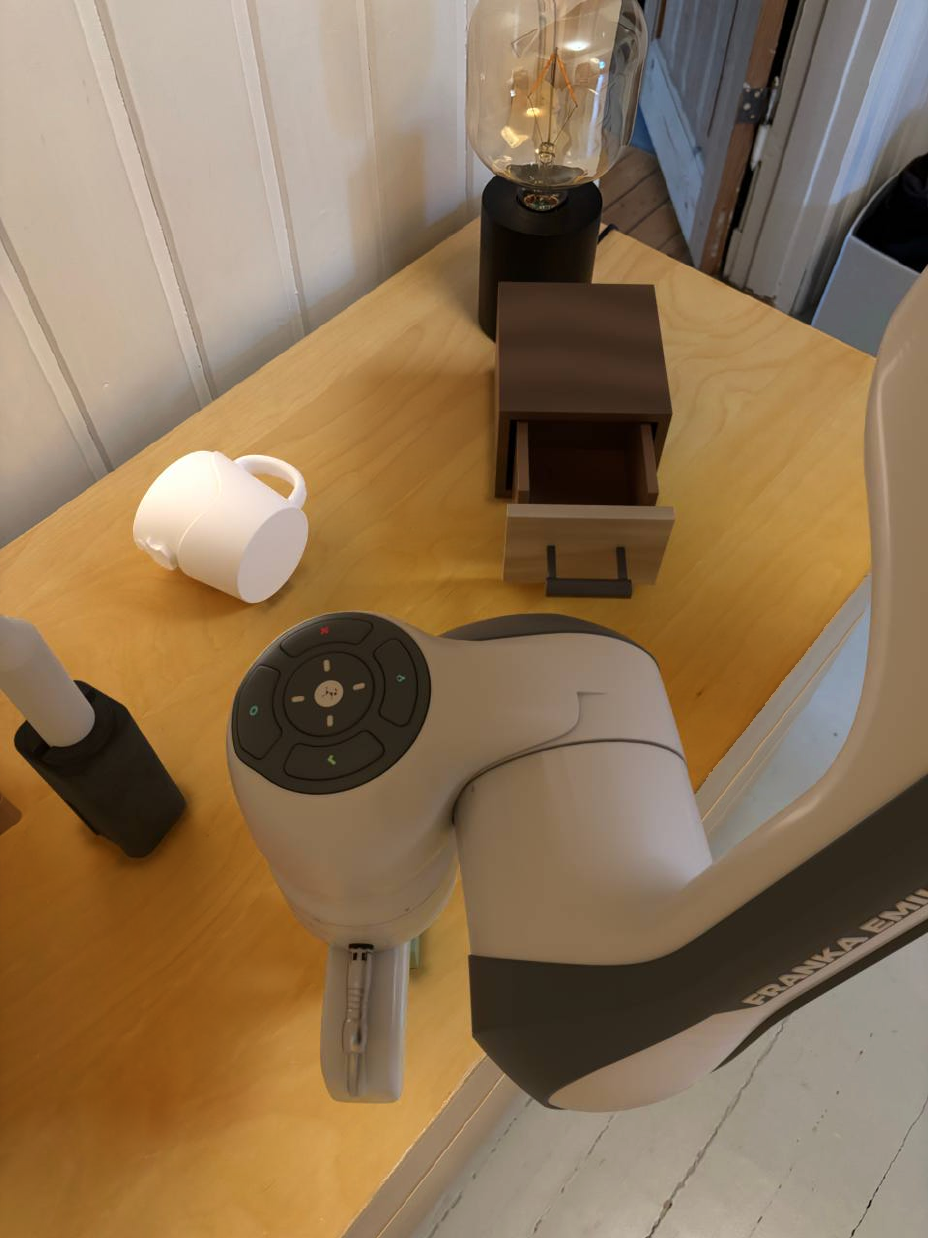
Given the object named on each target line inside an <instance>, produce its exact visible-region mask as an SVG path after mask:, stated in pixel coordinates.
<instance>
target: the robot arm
mask: <svg viewBox="0 0 928 1238" xmlns="http://www.w3.org/2000/svg"><path fill="white" fill-rule="evenodd" d="M865 404H866V405H865V406H866V407H865V415H864V427H863V443H862V444H863V445H862V446H863V450H862V451H863V453H862V455H863V474H864V482H865V492H866V493H865V495H866V503H867V515H868V516H867V517H868V526H869V527H868V528H869V542H870V543H869V544H870V547H869V548H870V575H871V577H870V578H871V581H870V611H869V613H870V614H869V618H870V619H869V627H868V628H869V629H868V642H867V643H868V645H867V653H866V662H865V670H864V677H863V682H862V687H861V694H860V698H859V701H858V704H857V708H856V712H855V716H854V719H853V721H852V724H851V727H850V729H849V731H848V734H847V736H846V739H845V741H844V743H843V744H842V746H841V748H840V751H838V754H837V756H836V757H835V759H834V761H833V762H832V763H831V764H830V765H829V767H828V768H827V770H826V771H825V772H824V773H823V775H822V776H821V777H820V778H819V779H818V780H817V781H816V782H815V783H814V784H813V785H812V786H811V787H809V788H808V789H807V790H806V791H805V792H803V793H802V794H800V795H799V796H798V797H797V798H795V799H794V800H793V801H792V802H790V803H789V804H787V806H785V807H784V808H782V809H781V810H780V811H779V812H777V813H776V814H775V815H773V816H772V817H771V818H769V819H768V820H767V821H766V822H764V823H763V824H762V825H760V826H759V827H758V828H757V829H755V830H754V831H753V832H751V833H750V834H749V835H747V836H746V837H745V838H743V839H742V840H741V841H740V842H738V843H737V844H735V845H734V846H733V847H731V849H729V850H728V851H727V852H725V853H724V854H723V855H721V856H720V857H719V858H718V859H716V860H715V861H713V857H712V854H711V850H710V847H709V843H708V839H707V836H706V832H705V829H704V825H703V821H702V817H701V815H700V809H699V807H698V804H697V800H696V797H695V793H694V790H693V786H692V782H691V779H690V774H689V772H688V762H687V758H686V754H685V752H684V747H683V744H682V741H681V737H680V733H679V730H678V727H677V724H676V720H675V716H674V713H673V710H672V707H671V704H670V700H669V697H668V693H667V690H666V686H665V683H664V681H663V678H662V675H661V674H662V673H661V668H660V665H659V663H658V660H656V658H655V657H654V656H653V654H651V653H650V652H649V651H648V650H647V649H645V648H644V646H641V644H639V643H637V642H636V641H634V640H633V639H632V638H630V637H628V636H626V635H624V634H622V633H621V632H619V631H616V630H614V629H611V628H609V627H607V626H605V625H601V624H599V623H595V622H593V621H589V620H586V619H581V618H578V617H573V616H570V615H566V614H562V613H561V614H560V613H553V612H552V613H549V612H542V613H541V612H539V613H538V612H537V613H535V612H534V613H518V614H507V615H501V616H496V617H490V618H486V619H482V620H478V621H477V620H476V621H474V622H470V623H466V624H464V625H461V626H458V627H454V628H452V629H449V630H447V631H445V632H443V633H440V634H439V635H434V634H432V633H429V632H426V631H425V630H423V629H421V628H419V627H416V626H415V625H412V624H410V623H408V622H407V621H404V620H402V619H400V618H397V617H394V616H392V615H388V614H385V613H381V612H378V611H377V612H376V611H372V610H371V611H370V610H357V609H355V610H342V611H333V612H326V613H323V614H319V615H316V616H313V617H310V618H308V619H305V620H303V621H301V622H299V623H297V624H296V625H293V626H292V627H290V628H288V629H287V630H285V631H284V632H282V633H281V634H280V635H278V636H277V637H276V638H275V639H273V640H272V642H270V644H268V645H267V646H266V647H265V648H264V649H263V650H262V651H261V652H260V653H259V655H258V656H257V657H256V659H255V660H254V661H253V662H252V663H251V664H250V666H249V668H248V669H247V671H246V672H245V674H244V676H243V677H242V679H241V681H240V682H239V685H238V686H237V689H236V691H235V694H234V696H233V699H232V700H231V705H230V708H229V713H228V717H227V723H226V731H225V755H226V762H227V769H228V774H229V778H230V782H231V786H232V789H233V792H234V796H235V799H236V802H237V804H238V807H239V810H240V813H241V815H242V817H243V820H244V823H245V825H246V828H247V830H248V832H249V834H250V836H251V838H252V840H253V842H254V843H255V846H256V847H257V849H258V850H259V852H260V854H261V855H262V857H263V858H264V859H265V861H266V862H267V865H268V868H269V871H270V874H271V875H272V877H273V879H274V881H275V882H276V885H277V888H278V889H279V891H280V893H281V895H282V896H283V898H284V900H285V902H286V904H287V906H288V907H289V909H290V912H291V913H292V914H293V916H294V917H295V918H296V921H298V923H299V924H300V925H301V926H302V927H303V928H304V929H305V930H306V931H307V932H308V933H309V934H311V935H312V936H313V937H314V938H316V939H318V940H319V941H320V942H323V943H325V944H326V945H327V955H326V963H325V965H326V966H325V976H324V986H323V987H324V988H323V996H322V1008H321V1017H320V1036H319V1037H320V1038H319V1039H320V1043H319V1045H320V1046H319V1057H320V1058H319V1060H320V1070H321V1076H322V1078H323V1082H324V1085H325V1088H326V1090H327V1093H328V1095H329V1096H330V1098H331V1099H332V1100H333V1101H335V1102H338V1103H347V1104H395V1103H397V1102H398V1101H400V1098H401V1097H402V1093H403V1089H404V1082H405V1067H406V1049H407V1046H406V1045H407V1028H408V1027H407V1026H408V1025H407V1023H408V1007H409V1006H408V1005H409V987H410V986H409V985H410V984H409V982H410V968H409V966H410V945H411V940H412V939H414V938H415V937H417V936H418V935H421V934H423V933H424V932H425V931H426V930H427V929H428V928H430V927H431V926H432V925H433V924H434V923H435V922H436V920H437V919H439V917H441V914H442V913H443V912H444V910H445V909H446V908H447V905H448V904H449V902H450V900H451V897H452V895H453V893H454V892H455V891H454V890H455V887H456V885H457V880H458V876H459V871H460V877H461V878H460V880H461V885H462V893H463V901H464V909H465V916H466V917H465V918H466V925H467V931H468V939H469V947H470V954H467V962H468V966H467V967H468V980H469V981H468V983H469V999H470V1001H469V1002H470V1022H471V1037H472V1039H473V1040H474V1041H475V1042H476V1044H478V1046H479V1047H480V1048H481V1049H482V1051H483V1052H484V1053H485V1054H486V1055H487V1057H489V1058H490V1060H491V1061H492V1062H493V1063H494V1064H495V1066H496V1067H498V1068H499V1069H500V1070H501V1071H502V1072H503V1074H504V1075H506V1077H508V1078H509V1079H510V1080H511V1081H513V1083H514V1084H515V1085H516V1086H517V1087H518V1088H520V1089H521V1090H522V1091H523V1092H524V1093H525V1094H527V1095H528V1096H530V1097H531V1098H532V1100H533V1099H534V1101H536V1102H537V1103H538V1104H540V1105H541V1106H543V1107H544V1108H546V1109H550V1110H555V1111H556V1110H557V1111H572V1112H581V1113H597V1114H598V1113H600V1114H601V1113H612V1112H621V1111H630V1110H633V1109H638V1108H642V1107H643V1108H644V1107H647V1106H650V1105H653V1104H656V1103H660V1102H662V1101H665V1100H668V1099H670V1098H673V1097H674V1096H677V1095H678V1094H680V1093H683V1092H684V1091H686V1090H688V1089H690V1088H692V1087H693V1086H694V1085H696V1084H697V1083H699V1082H701V1081H702V1080H703V1079H705V1078H706V1077H708V1076H709V1075H710V1074H712V1073H714V1072H716V1071H717V1070H720V1069H721V1068H722V1067H724V1066H726V1065H728V1063H730V1062H732V1061H733V1060H734V1059H736V1058H737V1057H738V1056H739V1055H740V1054H742V1053H743V1052H744V1051H745V1050H746V1049H748V1048H749V1047H750V1046H751V1045H753V1043H755V1042H756V1041H757V1040H758V1039H759V1038H760V1037H762V1036H763V1035H764V1034H765V1033H767V1032H768V1031H769V1030H770V1029H771V1028H773V1027H774V1026H776V1025H777V1024H778V1023H779V1022H781V1021H783V1020H785V1018H787V1017H788V1016H790V1015H791V1014H793V1013H794V1012H796V1011H798V1010H800V1009H801V1008H803V1007H805V1006H806V1005H808V1004H809V1003H811V1002H813V1001H814V1000H817V999H818V998H819V997H821V996H823V995H825V994H826V993H828V992H830V991H832V990H834V989H835V988H836V987H838V986H840V985H841V984H843V983H845V982H847V981H848V980H851V978H854V977H855V976H857V975H858V974H860V973H862V972H863V971H865V970H867V969H869V968H870V967H872V966H874V965H876V964H878V963H879V962H881V961H882V960H884V959H886V958H888V957H889V956H891V955H893V954H895V953H896V952H897V951H899V950H901V949H903V948H904V947H906V946H908V945H910V944H912V943H913V942H915V941H916V940H918V939H919V938H921V937H923V936H925V935H926V934H928V264H927V265H926V266H925V267H924V268H923V270H922V272H921V273H920V274H919V276H918V277H917V278H916V279H915V281H914V282H913V283H912V285H911V287H910V288H909V289H908V291H907V292H906V294H905V295H904V296H903V297H902V299H901V300H900V301H899V303H898V305H897V306H896V308H895V310H894V311H893V312H892V314H891V317H890V318H889V320H888V322H887V325H886V327H885V329H884V332H883V335H882V338H881V342H880V345H879V348H878V351H877V354H876V358H875V362H874V364H873V369H872V373H871V378H870V382H869V387H868V393H867V398H866V403H865Z"/></svg>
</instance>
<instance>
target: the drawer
mask: <svg viewBox="0 0 928 1238" xmlns="http://www.w3.org/2000/svg"><path fill="white" fill-rule="evenodd" d="M659 495H660V488H659V480H658V471H657V472H656V464H655V455H654V447H653V439H652V431H651V423H650V422H624V421H567V420H514V421H513V436H512V498H511V500H512V503H507V504H506V515H505V530H504V544H503V556H502V583H518V584H519V583H520V584H521V583H525V584H527V583H528V584H544V597H545V598H548V599H597V600H599V599H600V600H632V596H633V586H635V585H636V586H655V585H656V583H657V580H658V577H659V573H660V569H661V567H662V563H663V561H664V558H665V557H664V556H665V554H666V550H667V547H668V544H669V541H670V537H671V535H672V531H673V528H674V524H675V521H676V515H675V509H674V506H664V505H663V506H661V505H660V506H659V505H658V506H656V505H657V502H658V498H659Z"/></svg>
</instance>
